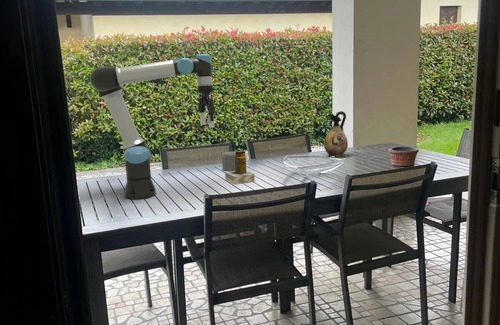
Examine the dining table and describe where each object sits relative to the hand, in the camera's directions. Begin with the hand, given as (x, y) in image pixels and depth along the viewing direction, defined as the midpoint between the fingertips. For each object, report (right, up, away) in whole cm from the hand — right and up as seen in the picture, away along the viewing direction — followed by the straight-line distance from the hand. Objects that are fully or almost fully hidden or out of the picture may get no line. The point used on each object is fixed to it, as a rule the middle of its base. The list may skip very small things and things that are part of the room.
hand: (207, 126), depth 236 cm
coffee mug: (+10, -23, +38) cm, 46 cm away
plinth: (+17, -29, +10) cm, 35 cm away
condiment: (+17, -25, +9) cm, 31 cm away
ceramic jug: (+80, -15, +66) cm, 105 cm away
